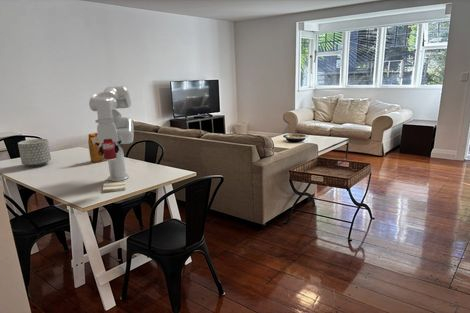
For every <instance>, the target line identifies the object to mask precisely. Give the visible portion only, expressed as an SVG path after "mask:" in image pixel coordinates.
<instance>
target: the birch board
mask: <svg viewBox="0 0 470 313" xmlns="http://www.w3.org/2000/svg"><path fill="white" fill-rule="evenodd" d="M102 186H103V187H102V193H103V194H104V193H111V191H112V192H119V190H120V191H126V181H125V180H122V181H112V182H106V183H103V185H102Z"/></svg>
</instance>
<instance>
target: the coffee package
mask: <svg viewBox="0 0 470 313" xmlns="http://www.w3.org/2000/svg"><path fill="white" fill-rule="evenodd" d="M96 136H97V132H94V133H88V138H87V139H88V151H89V157H90V162H94V163H96V162H97V163H99V162H103V161H106V160H104V158H103V154H101V153H100V149H99V147H98V146H97V145H96V144H95V143H93V142H92V140H93V139H94V138H95V137H96ZM96 142H98V139H97V140H96ZM98 143H99V142H98ZM99 144H100V143H99Z"/></svg>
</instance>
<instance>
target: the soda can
mask: <svg viewBox="0 0 470 313" xmlns="http://www.w3.org/2000/svg"><path fill="white" fill-rule="evenodd" d="M103 142H104V143H102V151H103V158H104V160H105V161H108V160H114V159H116V158H117V152H116V144H115V142H113V140H112V139H104V140H103Z"/></svg>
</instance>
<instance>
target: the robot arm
mask: <svg viewBox="0 0 470 313" xmlns="http://www.w3.org/2000/svg"><path fill="white" fill-rule="evenodd" d="M88 103H89V104H88V105H89V109H90V110H91V111H92V112H96V114H97V119H95V123H97V125H96V126H97V127H96V133H97V136H96V137H95V138H94V139H93V140H92V142H93V143H95V144H96V145H97V146H98V147H99V149H100V153H101V154H103V151H102V143H104V142H103V140H104V139H112V140H113V142H115V144H116V152H117V158H116V159H114V160H107V162H108V170H109V176H108V177H107V180H108V181H109V182H121V181H125V180H127V179H129V178H130V177H129V176H130V175H129V174H128V173H127V172H126V164H125V155H124V150H123V148H122V147H121V146H120V145H126V144H127V145H128V144H132V143H133V142H134V138H135V137H134V136H135V134H134V133H135V130H134V128H135V127H134V121H133V119H132V118H131V117H127V116H126V117H123V115H122V114H121V112H119V111H118V110H117V109H128V108H130V107H131V105H132V100H131V96H130V93H129V90H128V89H127V87H126V86H123V85H119V86H118V85H117V86H108V87H105V88H104V90H103V91H102V92H98V93H95V94H93V95H92V96H91V97H90V99H89V102H88ZM97 139H98V142H99V143H100V144H99V143H98V142H96V140H97Z"/></svg>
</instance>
